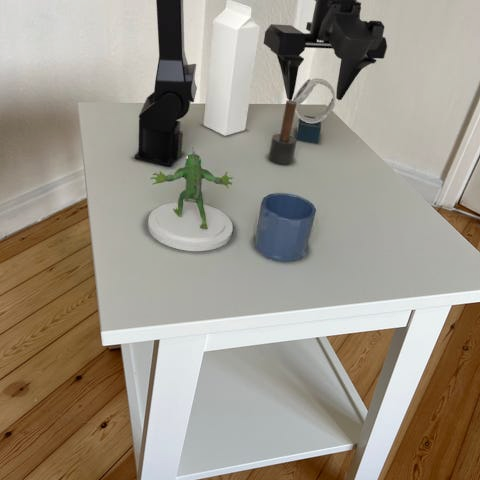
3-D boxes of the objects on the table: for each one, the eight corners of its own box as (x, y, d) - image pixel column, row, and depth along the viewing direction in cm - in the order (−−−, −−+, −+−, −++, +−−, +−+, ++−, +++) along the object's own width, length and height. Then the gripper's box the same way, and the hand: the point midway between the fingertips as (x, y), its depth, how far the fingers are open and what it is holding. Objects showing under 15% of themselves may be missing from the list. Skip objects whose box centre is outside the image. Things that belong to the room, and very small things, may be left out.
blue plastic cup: (249, 254, 76) (256, 212, 72) (260, 228, 82) (267, 188, 78) (302, 266, 76) (312, 225, 72) (308, 239, 81) (318, 200, 77)
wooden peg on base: (266, 161, 100) (276, 103, 94) (271, 152, 104) (281, 95, 97) (290, 167, 100) (302, 108, 93) (293, 157, 103) (305, 100, 97)
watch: (287, 128, 114) (298, 72, 107) (325, 134, 114) (338, 79, 107) (286, 138, 110) (297, 81, 103) (326, 145, 110) (339, 88, 103)
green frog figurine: (225, 208, 85) (233, 144, 79) (238, 252, 76) (249, 183, 70) (146, 205, 83) (148, 138, 76) (150, 250, 74) (152, 179, 67)
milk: (224, 136, 107) (240, 8, 93) (202, 125, 109) (214, -1, 95) (245, 130, 110) (263, 6, 96) (223, 119, 113) (237, -3, 99)
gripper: (308, -2, 70) (285, 119, 80) (424, 7, 78) (389, 118, 87) (271, -21, 78) (254, 92, 88) (380, -12, 85) (352, 92, 95)
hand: (314, 99), depth 89 cm, fingers open, 9 cm apart
